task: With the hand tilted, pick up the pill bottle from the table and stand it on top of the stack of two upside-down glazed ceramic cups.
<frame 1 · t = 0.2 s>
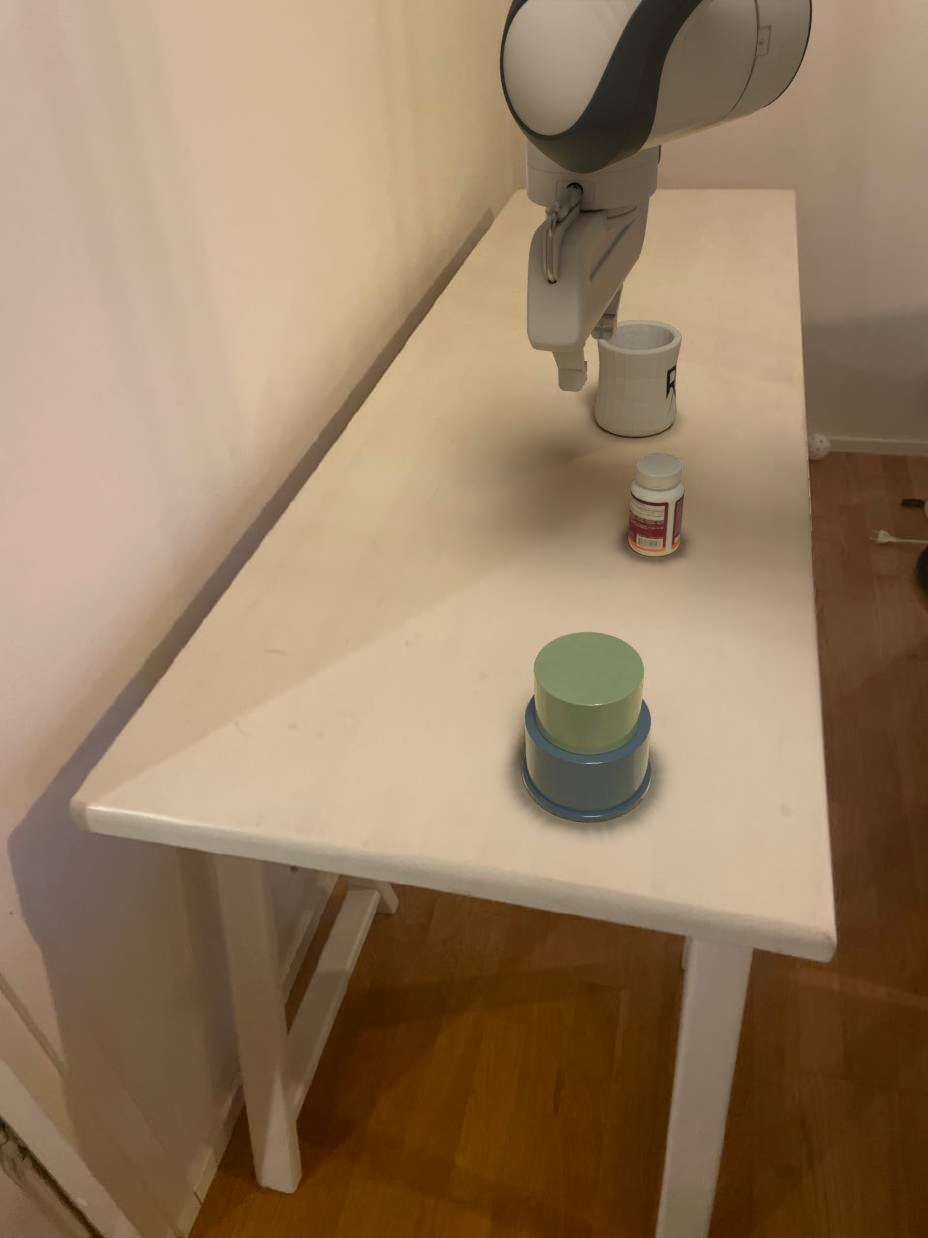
hand: (589, 360, 72), 20 cm above the table, tool pointing down, fingers open, 8 cm apart
pill bottle: (653, 544, 87), on the table
mug: (635, 415, 107), on the table
cup stack: (586, 771, 66), on the table
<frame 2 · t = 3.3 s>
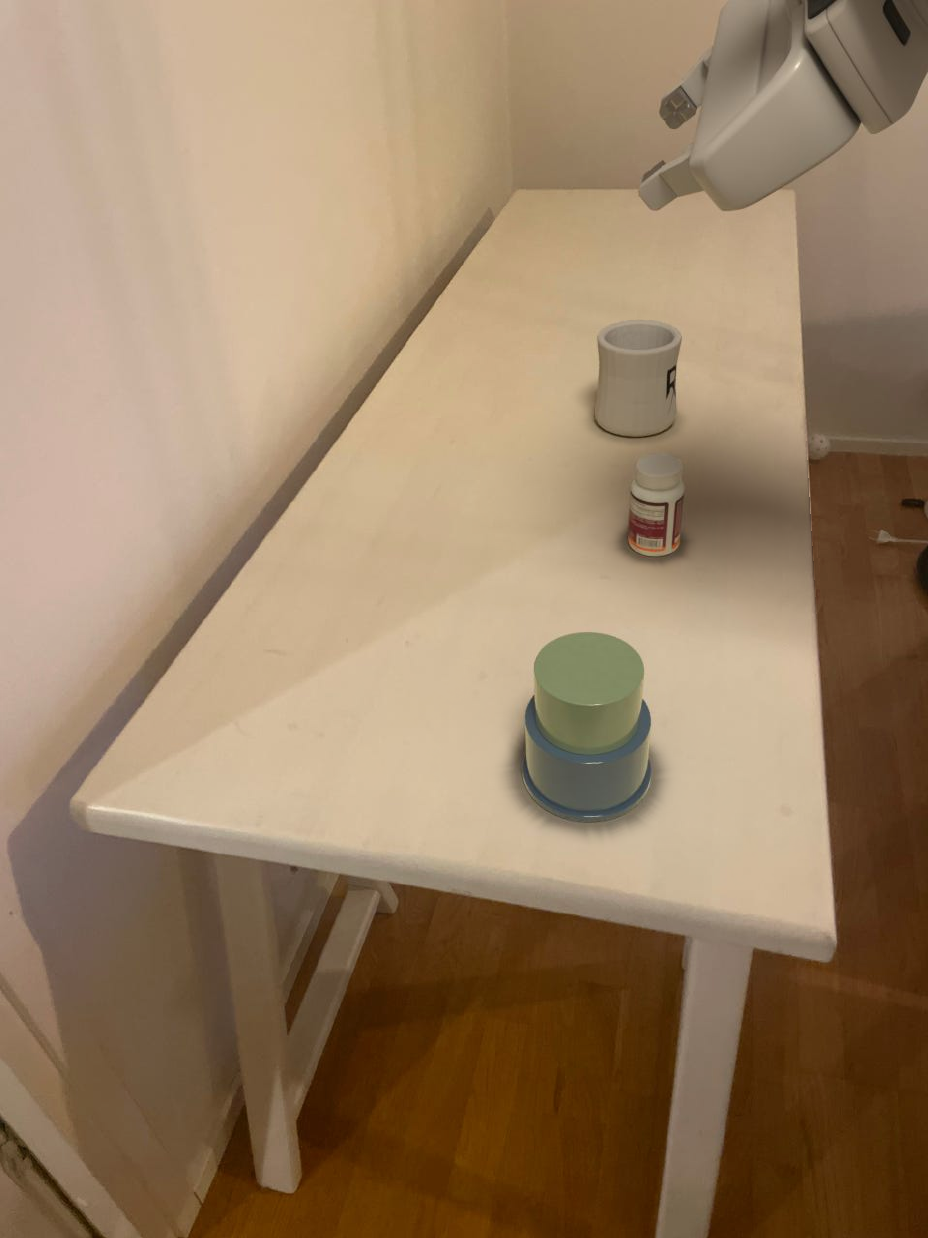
hand: (656, 154, 58), 36 cm above the table, tool tilted 55°, fingers open, 8 cm apart
nothing on the table moved.
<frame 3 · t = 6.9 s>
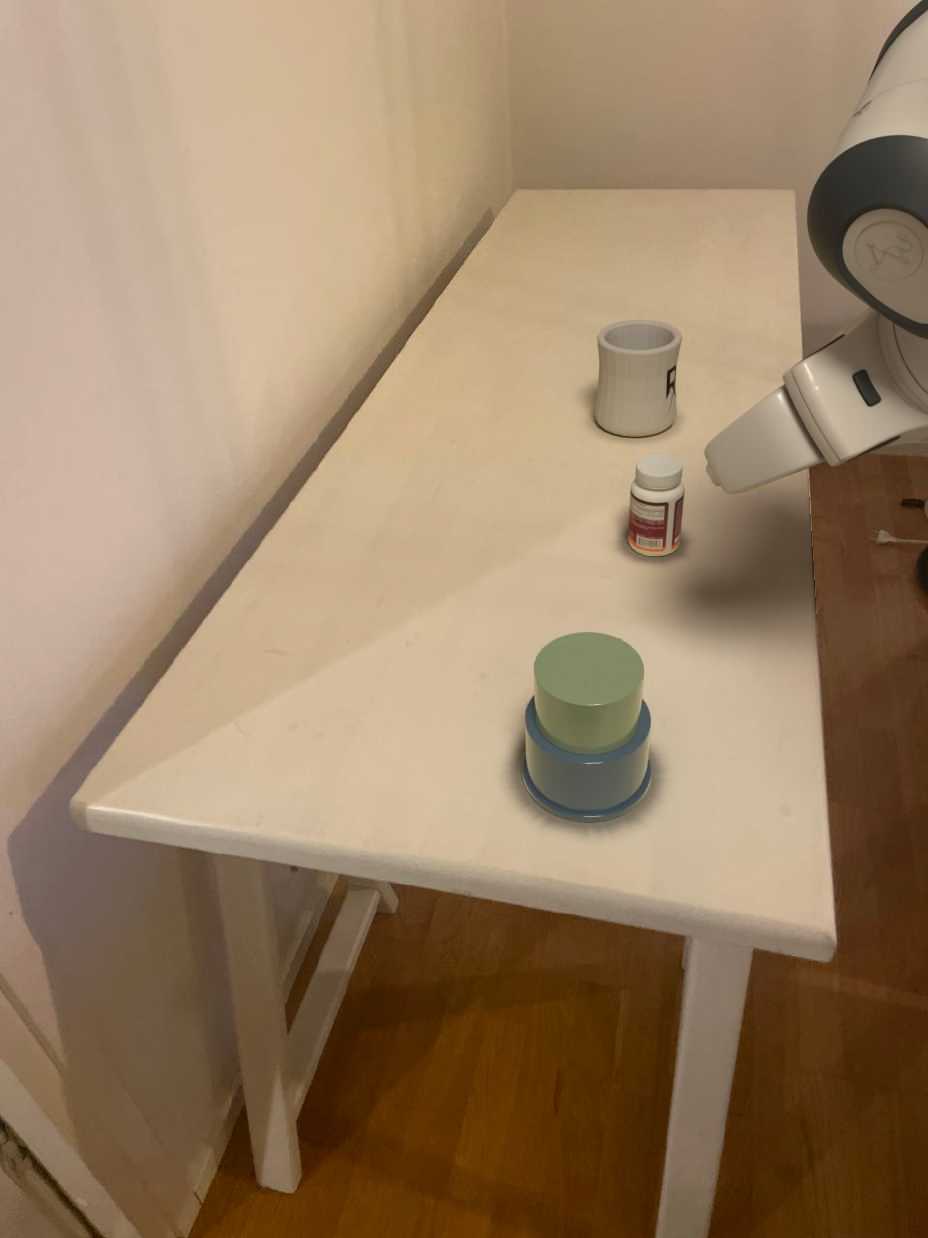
hand: (758, 451, 70), 15 cm above the table, tool tilted 45°, fingers open, 8 cm apart
nothing on the table moved.
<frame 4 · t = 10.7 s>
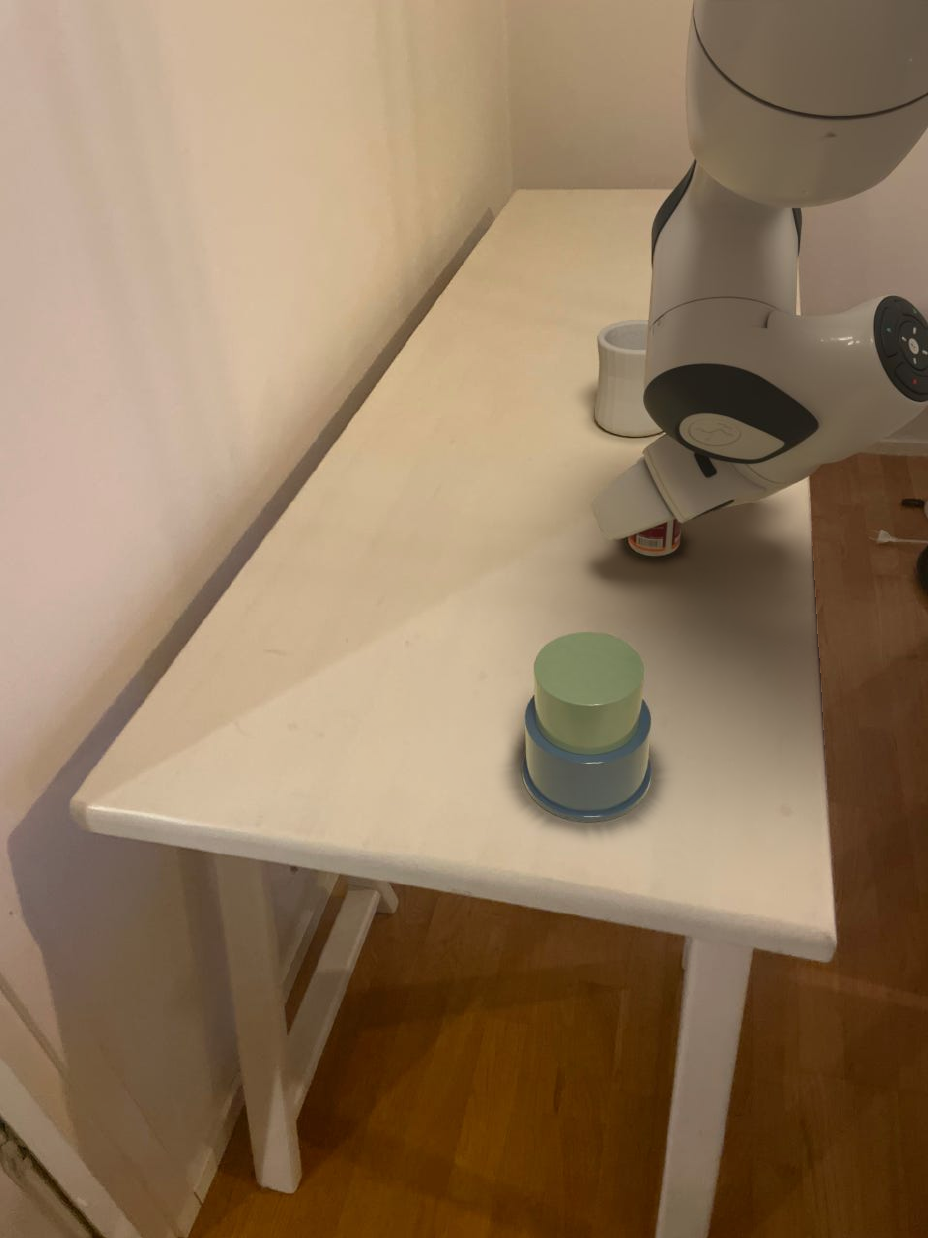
hand: (650, 500, 85), 4 cm above the table, tool tilted 45°, fingers closed on pill bottle, 5 cm apart
pill bottle: (653, 544, 87), on the table, touching gripper
everything else where it was.
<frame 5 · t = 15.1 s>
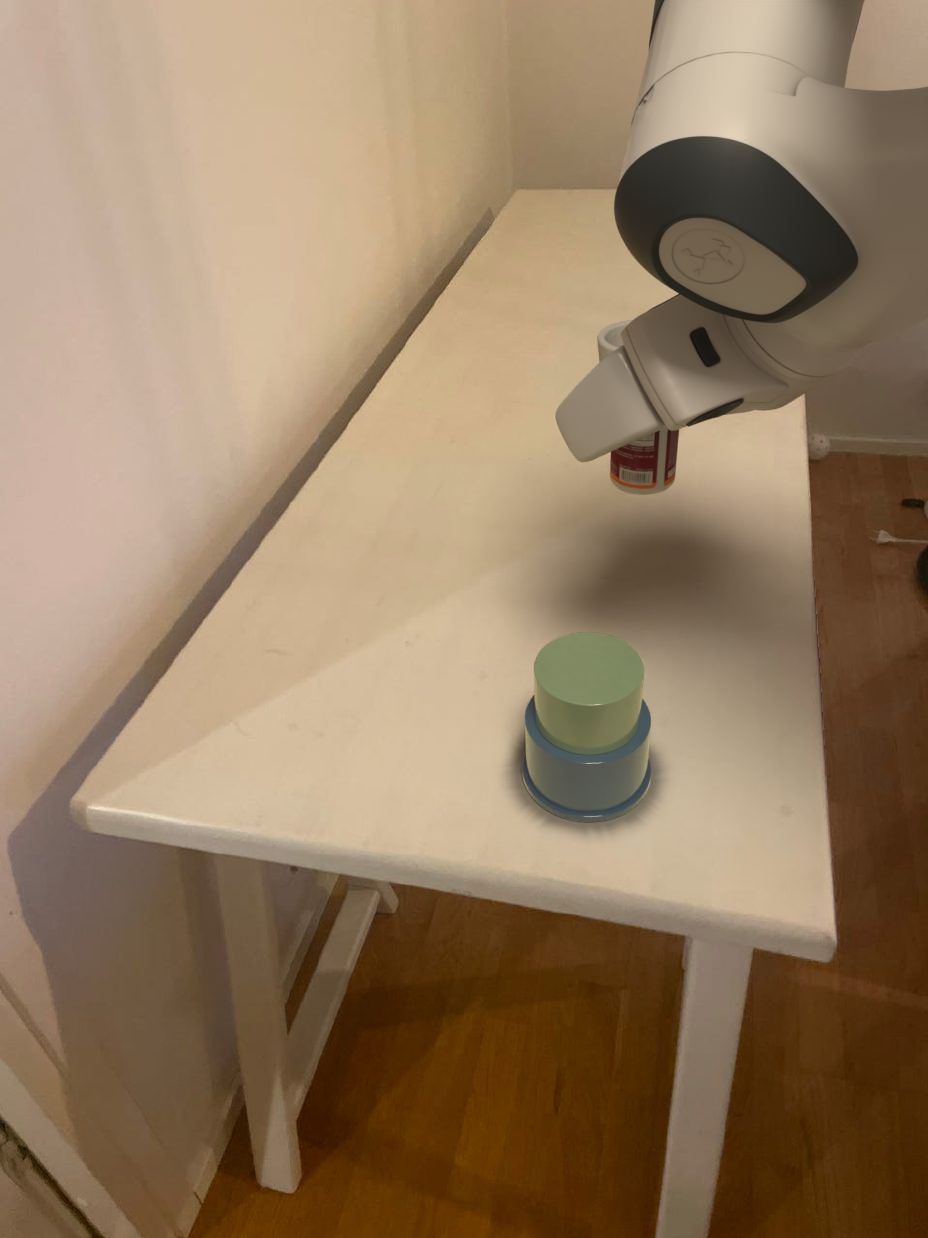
hand: (638, 423, 67), 19 cm above the table, tool tilted 45°, fingers closed on pill bottle, 5 cm apart
pill bottle: (641, 482, 69), point 14 cm above the table, touching gripper
everything else where it was.
when the fingers open (14 cm above the table, at t = 19.7 s): pill bottle stays where it is, resting on cup stack.
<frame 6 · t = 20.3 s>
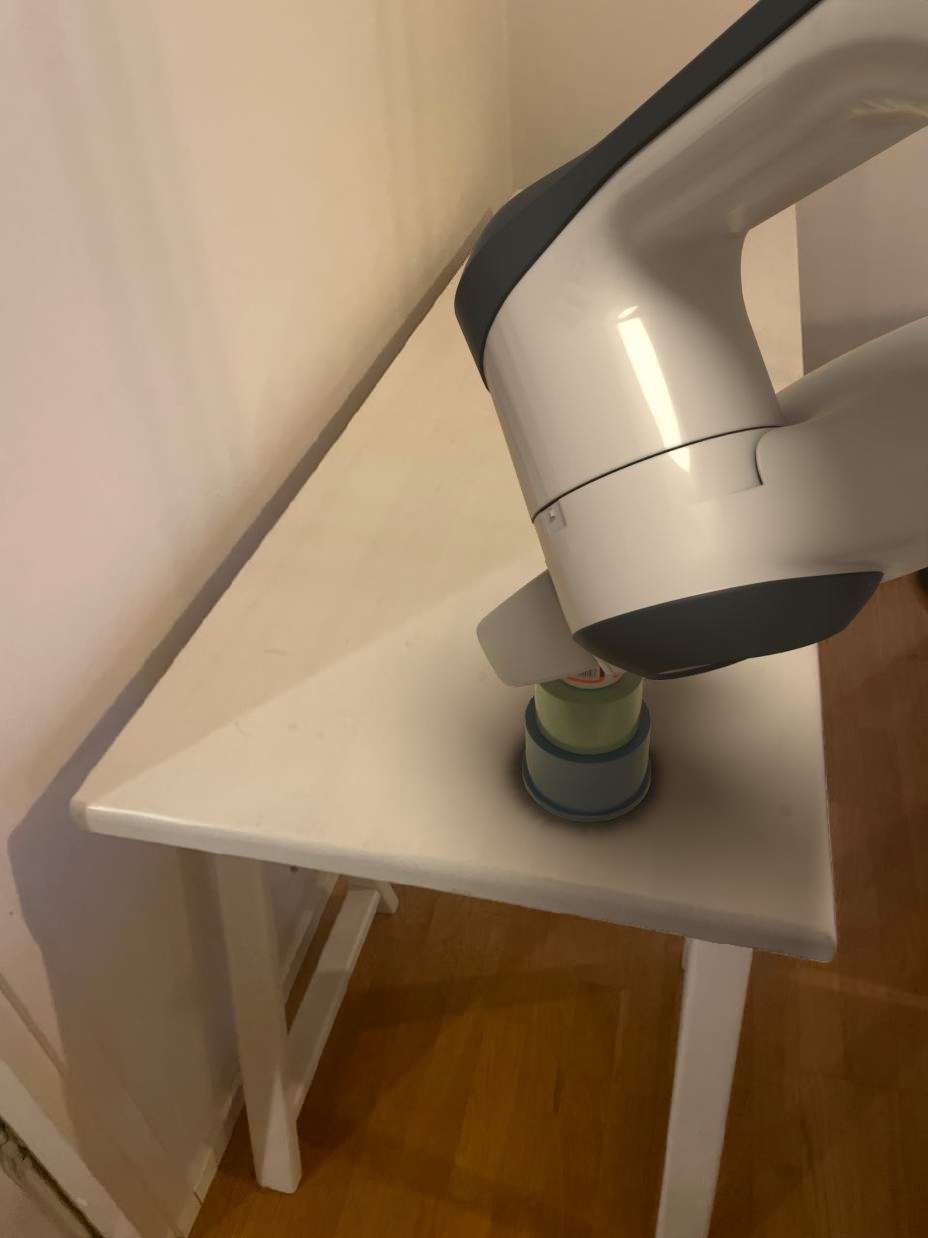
hand: (582, 601, 58), 15 cm above the table, tool tilted 45°, fingers open, 8 cm apart
pill bottle: (588, 668, 60), point 10 cm above the table, touching cup stack
everything else where it was.
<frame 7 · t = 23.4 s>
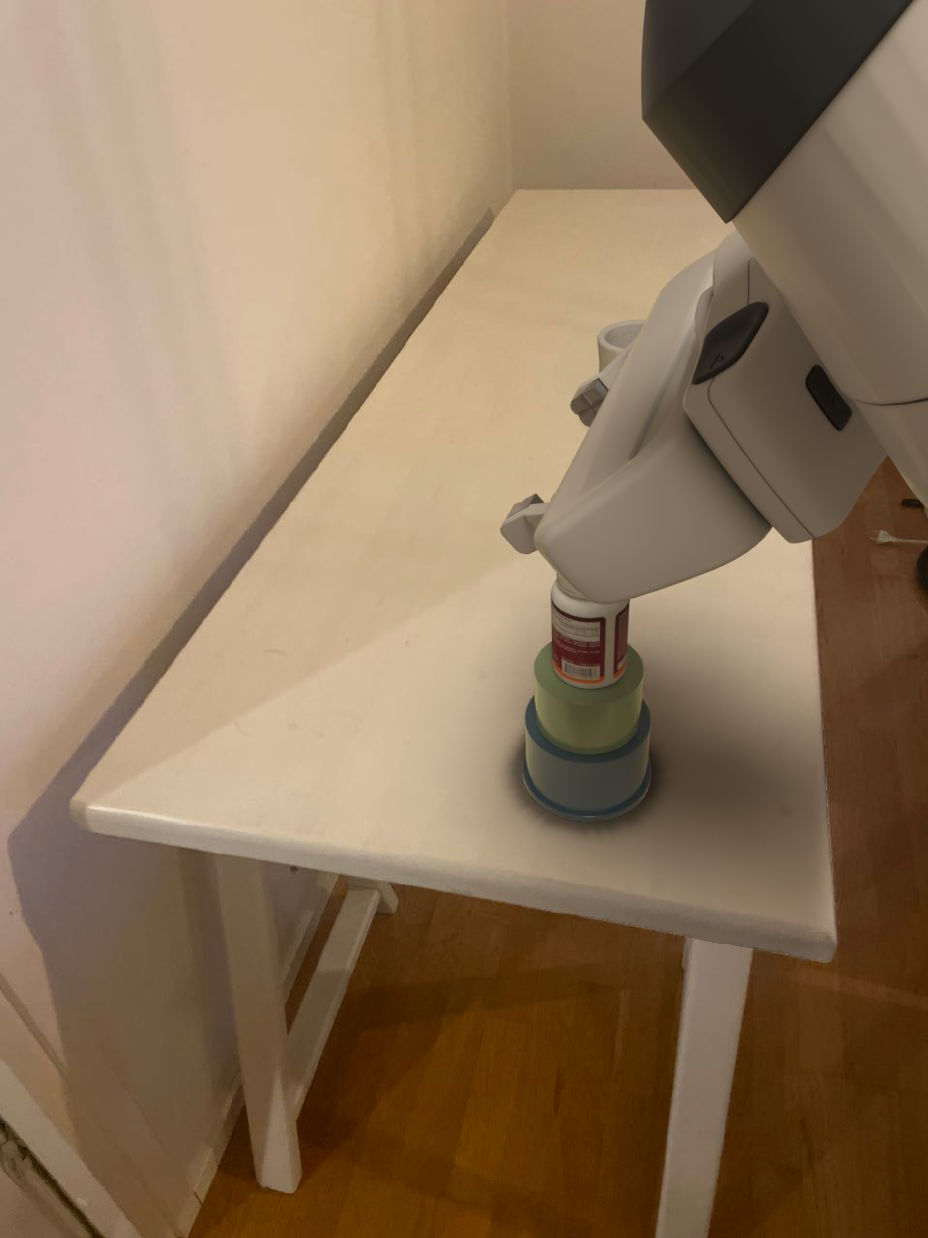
hand: (550, 466, 44), 28 cm above the table, tool tilted 50°, fingers open, 8 cm apart
nothing on the table moved.
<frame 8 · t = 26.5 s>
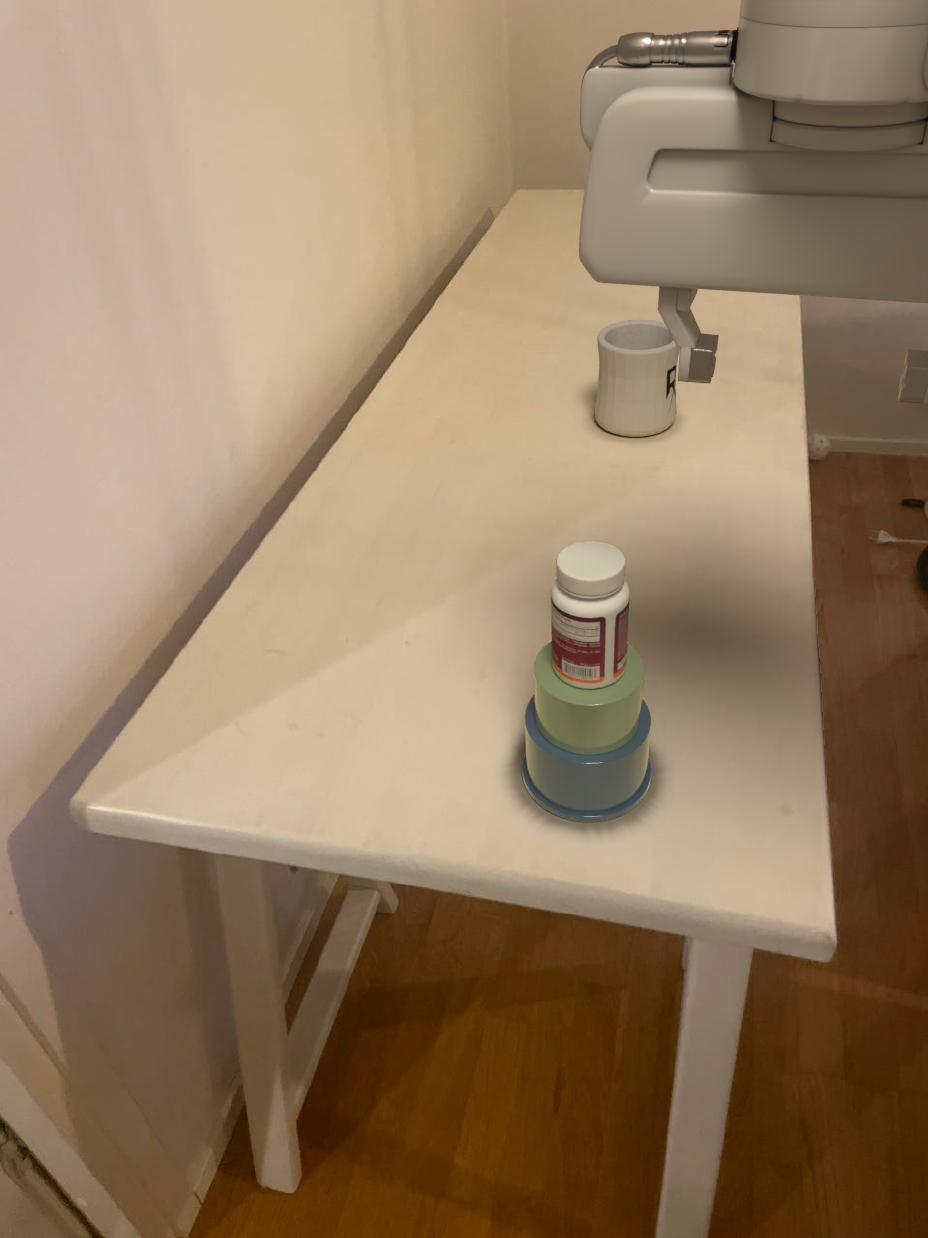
hand: (802, 387, 42), 31 cm above the table, tool pointing down, fingers open, 8 cm apart
nothing on the table moved.
at the end: pill bottle 0.1 cm off-centre on the cup stack, point 9.8 cm above the cup stack's base; pill bottle tilted 0°; the gripper is holding nothing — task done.
